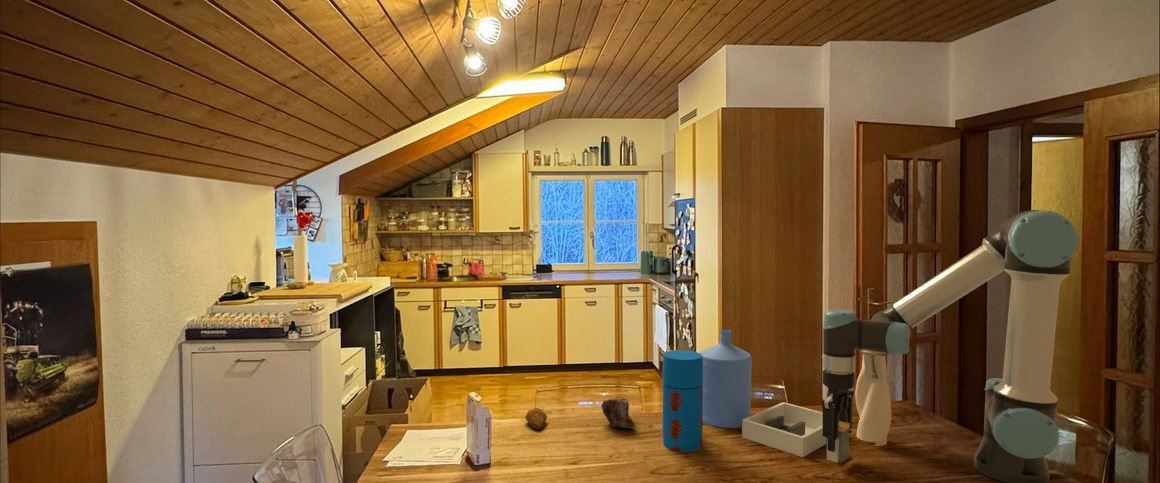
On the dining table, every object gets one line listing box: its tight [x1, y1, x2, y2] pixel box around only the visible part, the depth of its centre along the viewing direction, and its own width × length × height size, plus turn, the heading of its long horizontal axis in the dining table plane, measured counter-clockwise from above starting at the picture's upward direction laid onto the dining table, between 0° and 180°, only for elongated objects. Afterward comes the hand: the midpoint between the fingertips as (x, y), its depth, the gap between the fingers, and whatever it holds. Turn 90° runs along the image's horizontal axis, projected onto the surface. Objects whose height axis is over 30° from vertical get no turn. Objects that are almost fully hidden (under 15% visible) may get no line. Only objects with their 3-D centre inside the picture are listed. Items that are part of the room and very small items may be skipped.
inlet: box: [766, 415, 805, 436], centre depth 172 cm, size 8×8×4 cm
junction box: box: [741, 401, 826, 458], centre depth 171 cm, size 18×22×6 cm
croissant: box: [524, 407, 548, 431], centre depth 184 cm, size 14×7×5 cm, turn 9°
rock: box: [601, 398, 636, 430], centre depth 182 cm, size 12×9×10 cm
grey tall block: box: [825, 421, 850, 466], centre depth 156 cm, size 4×4×10 cm
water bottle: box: [854, 350, 892, 447], centre depth 168 cm, size 10×9×28 cm
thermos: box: [662, 349, 703, 453], centre depth 167 cm, size 11×11×25 cm
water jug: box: [699, 329, 753, 429], centre depth 184 cm, size 16×16×28 cm
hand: (836, 459), depth 156 cm, fingers closed on grey tall block, 4 cm apart
